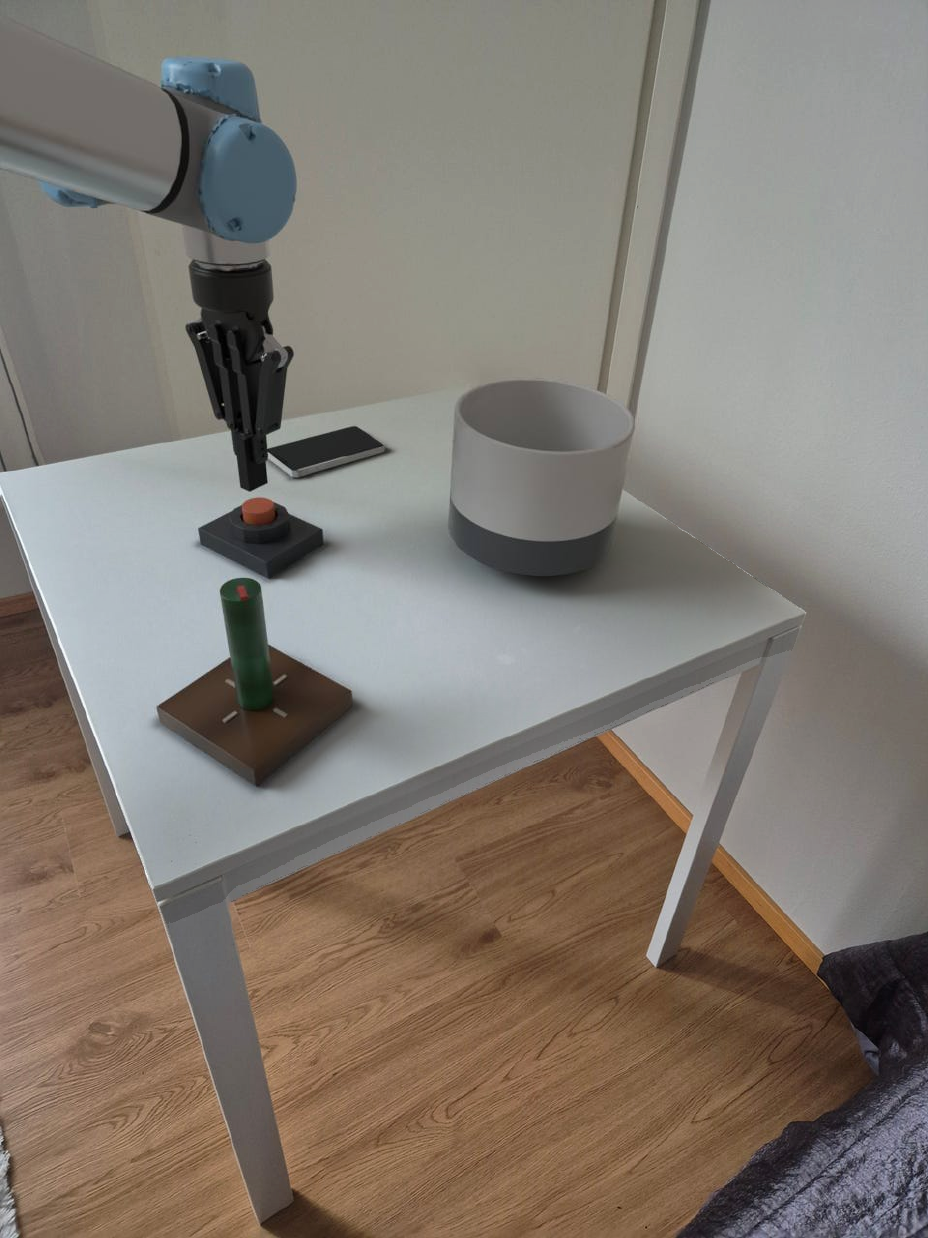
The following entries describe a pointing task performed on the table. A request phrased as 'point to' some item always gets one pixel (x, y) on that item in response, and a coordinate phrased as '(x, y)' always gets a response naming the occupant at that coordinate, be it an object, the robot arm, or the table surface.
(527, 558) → the planter
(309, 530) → the button box
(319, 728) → the dial base
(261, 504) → the button
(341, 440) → the smartphone
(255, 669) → the dial knob
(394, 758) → the table surface
